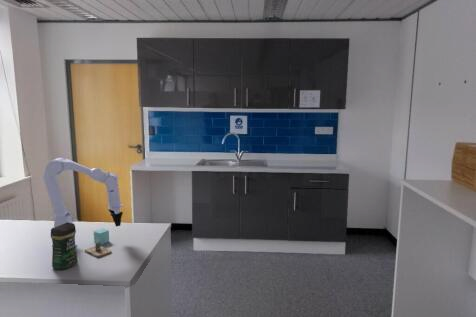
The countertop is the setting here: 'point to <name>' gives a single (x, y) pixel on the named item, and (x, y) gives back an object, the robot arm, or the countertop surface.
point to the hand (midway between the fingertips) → (117, 223)
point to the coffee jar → (63, 246)
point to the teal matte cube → (101, 236)
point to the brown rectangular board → (98, 250)
